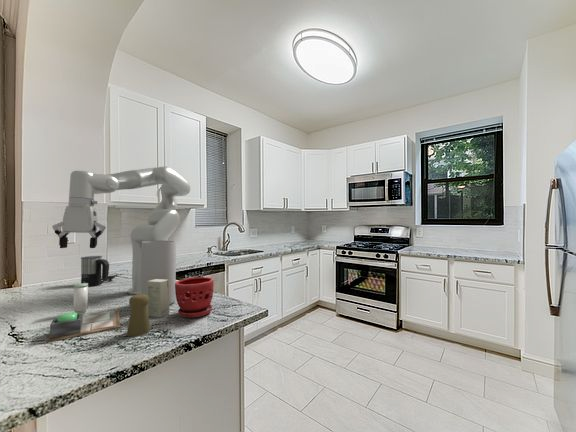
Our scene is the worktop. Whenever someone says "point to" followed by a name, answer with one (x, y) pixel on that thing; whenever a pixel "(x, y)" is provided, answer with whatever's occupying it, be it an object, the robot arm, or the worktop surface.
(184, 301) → the plant pot
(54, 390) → the worktop surface
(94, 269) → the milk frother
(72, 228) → the robot arm
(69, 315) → the button
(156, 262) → the cylinder vase
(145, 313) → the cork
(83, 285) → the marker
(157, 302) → the skincare box
